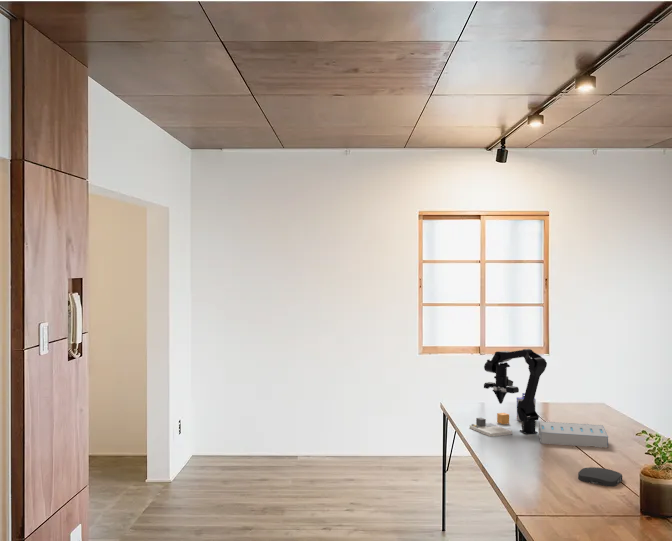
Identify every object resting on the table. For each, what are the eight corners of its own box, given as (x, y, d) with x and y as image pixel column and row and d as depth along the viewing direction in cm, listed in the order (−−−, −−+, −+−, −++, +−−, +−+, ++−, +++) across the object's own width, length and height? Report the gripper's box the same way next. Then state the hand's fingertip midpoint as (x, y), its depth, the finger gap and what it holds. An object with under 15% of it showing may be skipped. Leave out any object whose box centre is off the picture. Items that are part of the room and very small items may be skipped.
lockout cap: (509, 423, 342) (509, 414, 342) (502, 424, 340) (502, 415, 340) (504, 421, 346) (504, 412, 346) (497, 422, 345) (497, 413, 345)
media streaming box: (587, 471, 262) (587, 464, 262) (624, 479, 253) (624, 471, 253) (575, 480, 251) (575, 473, 251) (614, 488, 242) (614, 481, 242)
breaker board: (512, 434, 320) (512, 429, 320) (490, 436, 315) (490, 432, 315) (490, 425, 337) (490, 421, 337) (469, 427, 332) (469, 423, 332)
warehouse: (540, 444, 304) (540, 428, 304) (538, 436, 318) (538, 421, 318) (607, 448, 296) (608, 432, 296) (602, 440, 310) (602, 425, 310)
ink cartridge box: (534, 419, 352) (534, 393, 352) (536, 421, 347) (536, 395, 347) (516, 418, 354) (516, 392, 354) (517, 420, 348) (517, 394, 348)
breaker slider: (485, 425, 330) (485, 419, 330) (480, 426, 328) (480, 419, 328) (481, 424, 333) (481, 417, 333) (476, 424, 332) (476, 418, 332)
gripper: (524, 375, 339) (524, 404, 339) (495, 370, 353) (495, 398, 353) (512, 377, 332) (512, 407, 332) (483, 372, 346) (482, 401, 346)
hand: (500, 403), depth 341 cm, fingers closed
